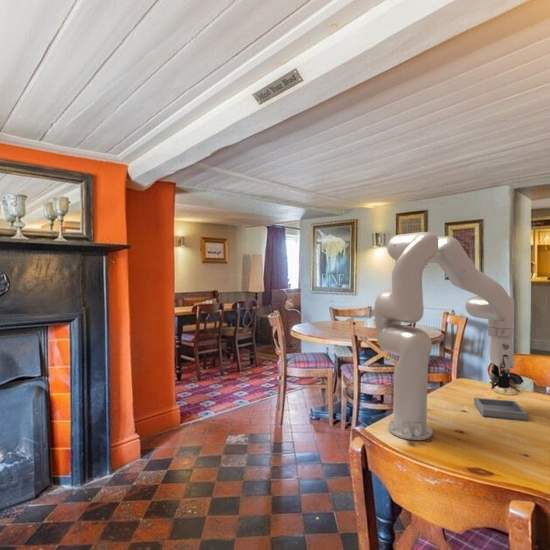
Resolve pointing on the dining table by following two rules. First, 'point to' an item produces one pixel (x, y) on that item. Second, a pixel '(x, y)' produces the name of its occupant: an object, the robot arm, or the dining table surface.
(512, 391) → the hand bell
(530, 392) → the dining table surface
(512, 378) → the eagle figurine
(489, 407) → the holder
